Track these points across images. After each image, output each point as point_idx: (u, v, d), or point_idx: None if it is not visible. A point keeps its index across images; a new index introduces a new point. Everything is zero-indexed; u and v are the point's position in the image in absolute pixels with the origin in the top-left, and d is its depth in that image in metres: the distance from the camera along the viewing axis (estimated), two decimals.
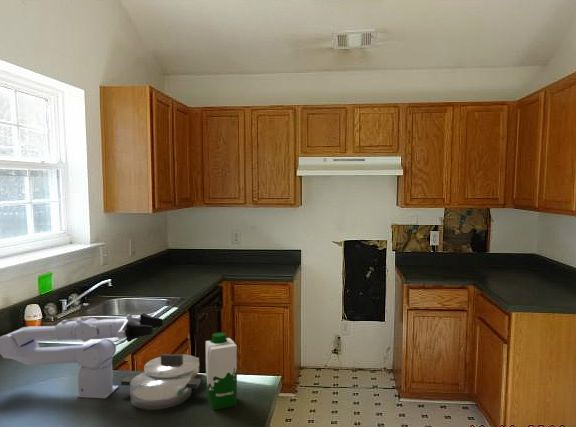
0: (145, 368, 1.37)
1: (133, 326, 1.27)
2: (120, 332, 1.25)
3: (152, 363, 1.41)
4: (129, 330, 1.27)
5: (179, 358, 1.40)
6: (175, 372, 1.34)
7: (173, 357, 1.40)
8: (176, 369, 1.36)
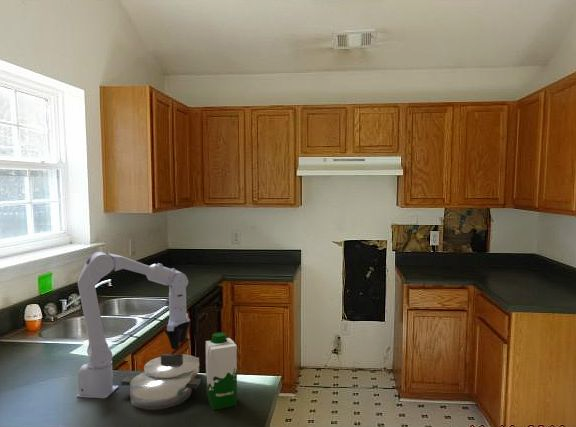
0: (145, 368, 1.37)
1: (178, 335, 1.41)
2: (172, 328, 1.39)
3: (152, 363, 1.41)
4: None
5: (179, 358, 1.40)
6: (175, 372, 1.34)
7: (173, 357, 1.40)
8: (176, 369, 1.36)
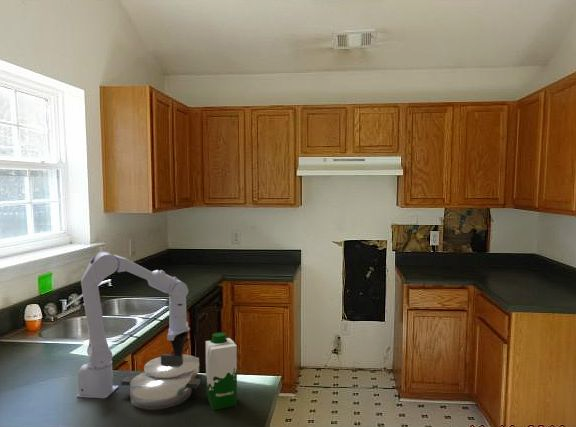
0: (145, 368, 1.37)
1: (181, 342, 1.44)
2: (172, 337, 1.39)
3: (152, 363, 1.41)
4: None
5: (179, 358, 1.40)
6: (175, 372, 1.34)
7: (173, 357, 1.40)
8: (176, 369, 1.36)
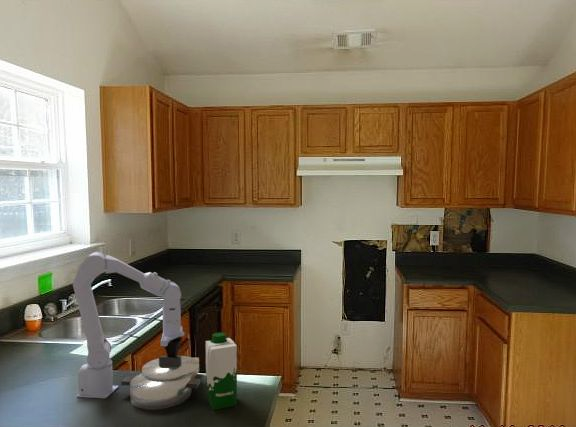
0: (143, 370, 1.36)
1: (175, 347, 1.39)
2: (165, 343, 1.34)
3: (151, 365, 1.40)
4: None
5: (177, 360, 1.38)
6: (173, 374, 1.33)
7: (171, 359, 1.38)
8: (175, 371, 1.35)
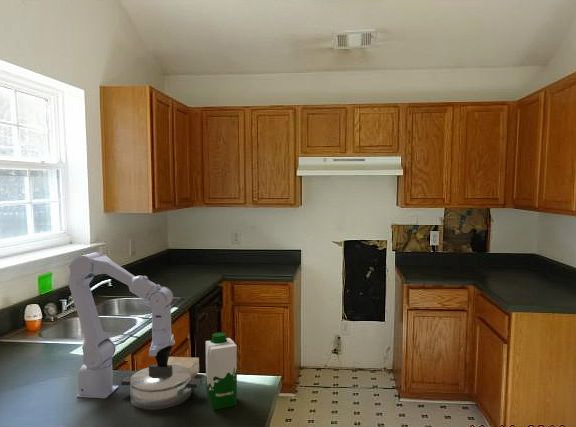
0: (132, 380, 1.28)
1: (166, 356, 1.31)
2: (154, 352, 1.25)
3: (140, 374, 1.32)
4: None
5: (168, 369, 1.31)
6: (163, 384, 1.25)
7: (162, 368, 1.31)
8: (165, 381, 1.27)
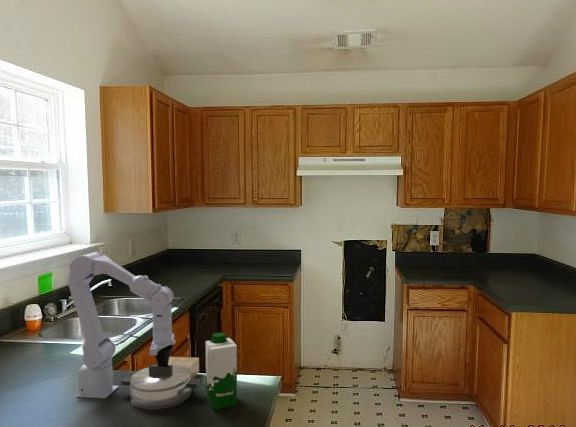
0: (132, 380, 1.28)
1: (166, 356, 1.31)
2: (155, 352, 1.26)
3: (140, 374, 1.32)
4: None
5: (168, 369, 1.31)
6: (163, 384, 1.25)
7: (162, 368, 1.31)
8: (165, 381, 1.27)
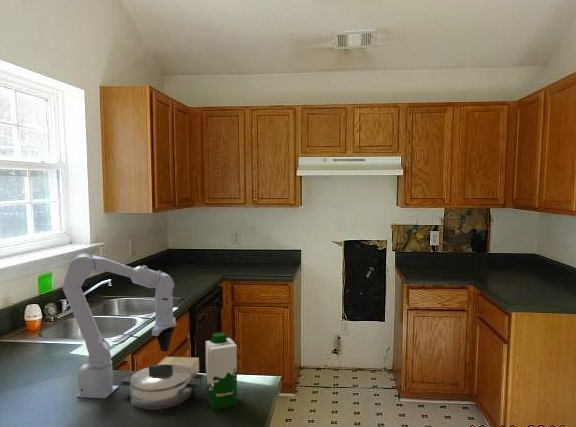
0: (132, 380, 1.28)
1: (167, 337, 1.40)
2: (157, 332, 1.34)
3: (140, 374, 1.32)
4: None
5: (168, 369, 1.31)
6: (164, 384, 1.25)
7: (162, 368, 1.31)
8: (165, 381, 1.27)
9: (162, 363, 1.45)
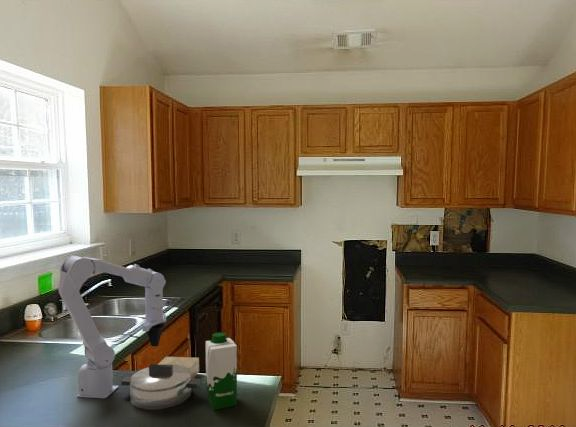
0: (132, 380, 1.28)
1: (157, 333, 1.44)
2: (147, 328, 1.39)
3: (140, 374, 1.32)
4: None
5: (168, 369, 1.31)
6: (164, 384, 1.25)
7: (162, 368, 1.31)
8: (165, 381, 1.27)
9: (162, 363, 1.45)
